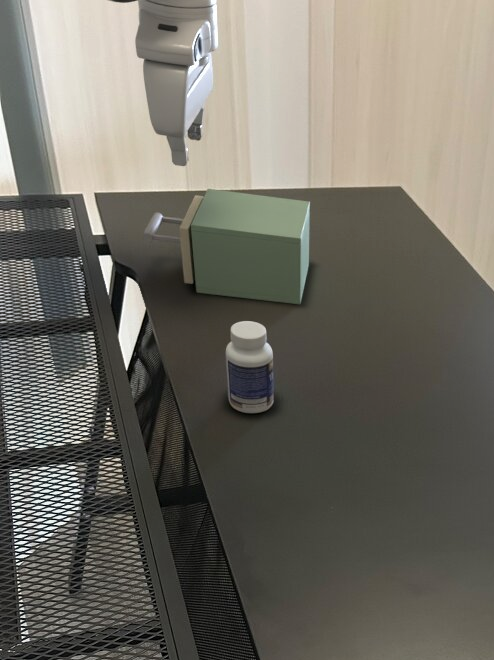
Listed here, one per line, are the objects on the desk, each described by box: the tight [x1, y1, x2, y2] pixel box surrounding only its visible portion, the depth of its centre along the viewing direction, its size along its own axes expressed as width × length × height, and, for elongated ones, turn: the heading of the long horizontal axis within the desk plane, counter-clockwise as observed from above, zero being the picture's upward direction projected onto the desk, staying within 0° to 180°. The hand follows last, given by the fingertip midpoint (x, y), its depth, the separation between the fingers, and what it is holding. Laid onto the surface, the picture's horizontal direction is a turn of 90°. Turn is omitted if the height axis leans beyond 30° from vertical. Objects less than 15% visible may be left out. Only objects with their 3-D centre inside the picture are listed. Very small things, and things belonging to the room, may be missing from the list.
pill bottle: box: [225, 320, 275, 414], centre depth 101 cm, size 5×5×10 cm
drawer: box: [141, 194, 205, 285], centre depth 122 cm, size 19×11×8 cm, turn 91°
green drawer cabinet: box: [191, 188, 311, 305], centre depth 122 cm, size 15×13×10 cm
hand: (188, 150), depth 111 cm, fingers open, 8 cm apart
